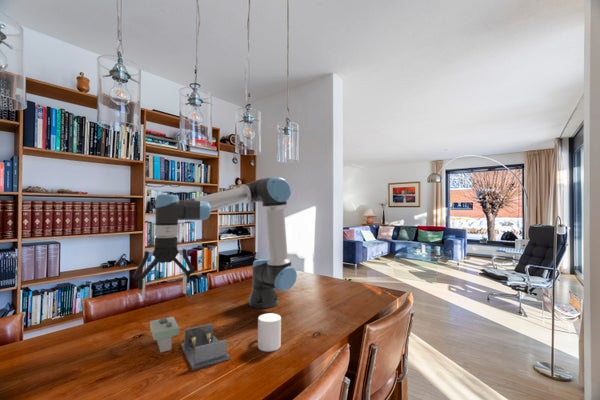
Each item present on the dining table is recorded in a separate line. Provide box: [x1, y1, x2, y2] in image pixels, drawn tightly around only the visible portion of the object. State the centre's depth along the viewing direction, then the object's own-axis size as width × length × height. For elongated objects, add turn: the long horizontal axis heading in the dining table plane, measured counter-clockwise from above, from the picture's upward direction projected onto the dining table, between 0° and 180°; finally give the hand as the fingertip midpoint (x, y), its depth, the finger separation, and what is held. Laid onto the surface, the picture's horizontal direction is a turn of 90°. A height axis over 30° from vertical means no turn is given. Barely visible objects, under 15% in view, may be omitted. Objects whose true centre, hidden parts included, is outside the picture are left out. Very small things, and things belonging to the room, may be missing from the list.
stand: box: [156, 336, 173, 353], centre depth 102 cm, size 10×4×5 cm, turn 33°
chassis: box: [180, 322, 231, 371], centre depth 97 cm, size 18×12×6 cm, turn 33°
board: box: [149, 316, 180, 341], centre depth 102 cm, size 12×8×3 cm, turn 33°
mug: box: [257, 312, 282, 352], centre depth 104 cm, size 8×10×12 cm
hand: (164, 295), depth 102 cm, fingers open, 13 cm apart
